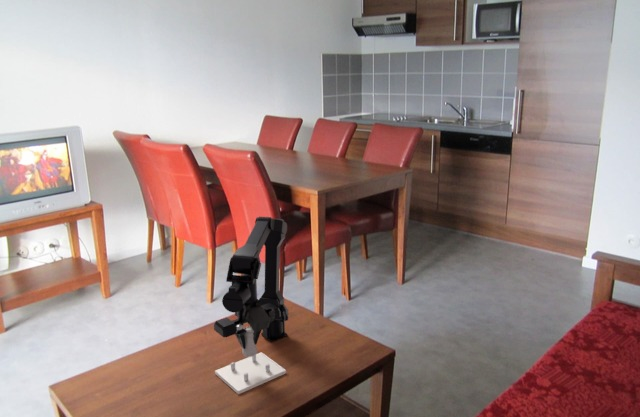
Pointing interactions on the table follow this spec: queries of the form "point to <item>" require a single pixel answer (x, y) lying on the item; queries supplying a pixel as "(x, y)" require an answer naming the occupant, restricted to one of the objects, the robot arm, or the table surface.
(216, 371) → the peg board
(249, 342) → the rook chess piece
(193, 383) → the table surface
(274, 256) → the robot arm
